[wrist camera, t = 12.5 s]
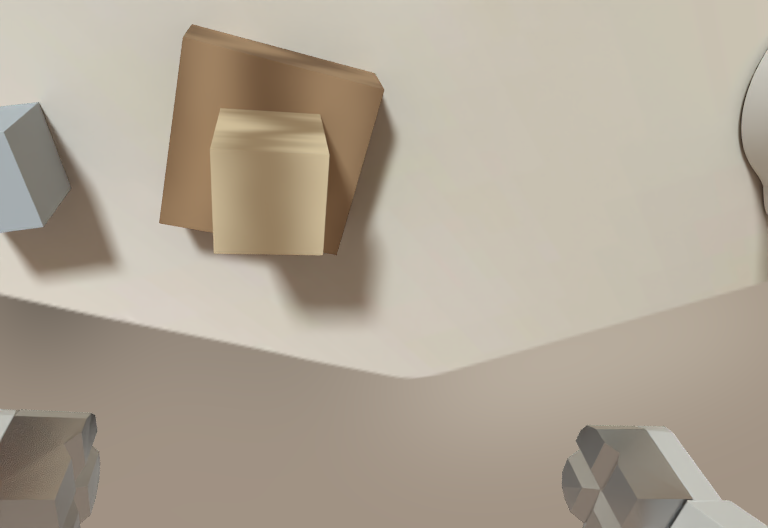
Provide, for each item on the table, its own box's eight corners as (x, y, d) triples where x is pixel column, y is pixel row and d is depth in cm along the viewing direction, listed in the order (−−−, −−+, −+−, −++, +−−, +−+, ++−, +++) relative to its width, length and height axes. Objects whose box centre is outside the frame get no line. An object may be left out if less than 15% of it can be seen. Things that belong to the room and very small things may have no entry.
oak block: (320, 114, 31) (329, 154, 26) (315, 202, 34) (322, 255, 29) (220, 108, 30) (209, 149, 25) (222, 199, 33) (213, 253, 28)
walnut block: (373, 71, 34) (384, 89, 31) (331, 224, 39) (336, 254, 36) (192, 22, 32) (183, 36, 28) (170, 193, 36) (159, 223, 33)
